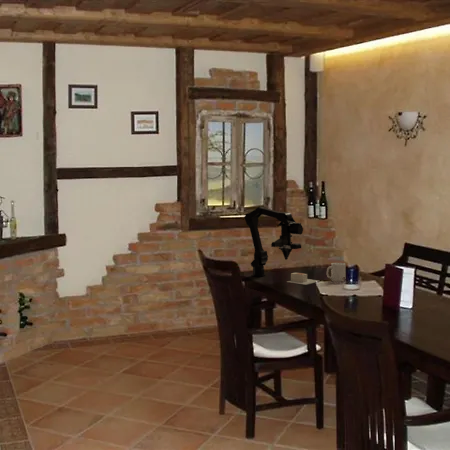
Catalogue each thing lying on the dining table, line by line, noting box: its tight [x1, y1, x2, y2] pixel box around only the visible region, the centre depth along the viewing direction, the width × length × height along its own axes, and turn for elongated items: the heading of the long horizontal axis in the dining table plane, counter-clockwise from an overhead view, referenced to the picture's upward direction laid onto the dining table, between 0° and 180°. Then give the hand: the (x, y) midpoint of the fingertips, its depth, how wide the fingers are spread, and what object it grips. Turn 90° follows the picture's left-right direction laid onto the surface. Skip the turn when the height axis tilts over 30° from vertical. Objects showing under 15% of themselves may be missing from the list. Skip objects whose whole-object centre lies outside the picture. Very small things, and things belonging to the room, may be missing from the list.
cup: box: [326, 262, 346, 283], centre depth 417 cm, size 8×12×10 cm
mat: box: [286, 278, 319, 286], centre depth 416 cm, size 14×14×1 cm
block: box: [290, 272, 308, 282], centre depth 418 cm, size 4×4×9 cm
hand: (286, 259), depth 423 cm, fingers closed
